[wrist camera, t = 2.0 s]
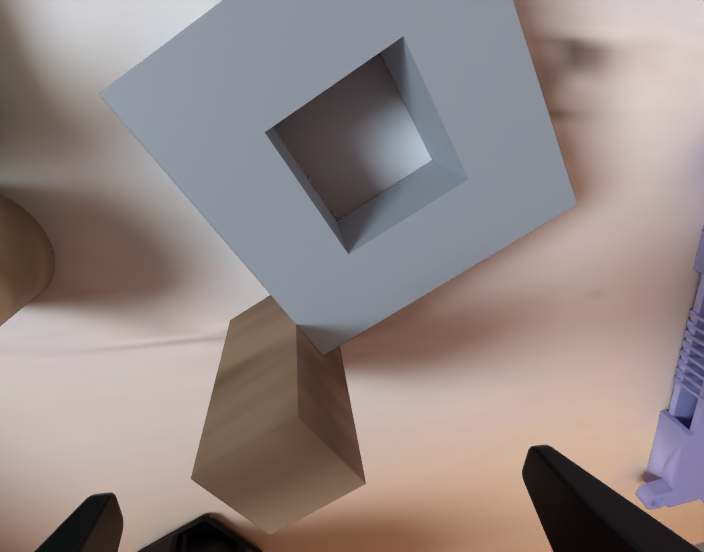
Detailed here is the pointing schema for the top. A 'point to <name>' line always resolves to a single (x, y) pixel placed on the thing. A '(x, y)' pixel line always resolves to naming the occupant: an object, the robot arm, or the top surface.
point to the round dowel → (21, 258)
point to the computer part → (681, 420)
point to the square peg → (277, 423)
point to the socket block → (293, 185)
